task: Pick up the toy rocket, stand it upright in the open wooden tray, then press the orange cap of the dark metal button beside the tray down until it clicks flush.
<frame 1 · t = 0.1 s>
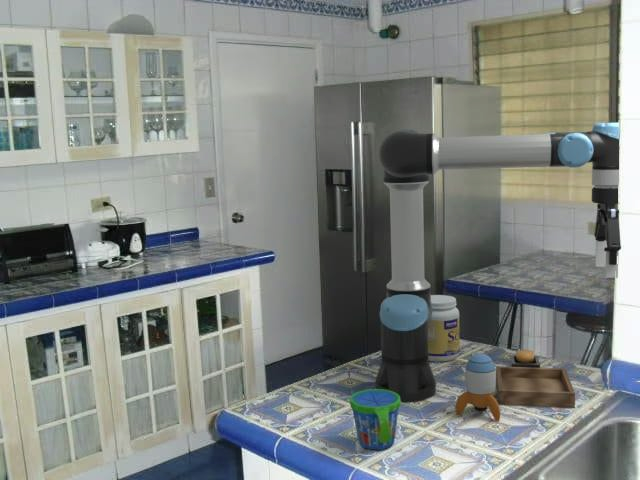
hand: (606, 271, 174), 28 cm above the kitchen counter, fingers open, 13 cm apart
button housing: (524, 374, 184), on the kitchen counter
snack cup: (376, 444, 148), on the kitchen counter
open wooden tray: (533, 392, 172), on the kitchen counter
toy rocket: (475, 414, 161), on the kitchen counter
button: (525, 356, 184), point 5 cm above the kitchen counter, slide at 0.0 cm
supplement tub: (438, 356, 202), on the kitchen counter
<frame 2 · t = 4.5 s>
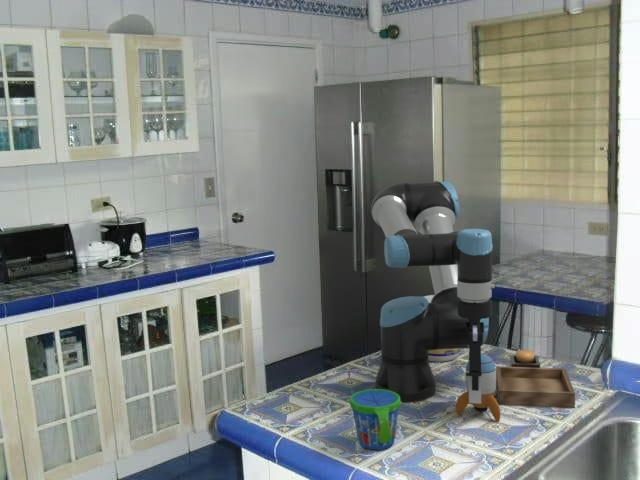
hand: (474, 395, 160), 4 cm above the kitchen counter, fingers closed on toy rocket, 7 cm apart
toy rocket: (475, 414, 161), on the kitchen counter, touching gripper
everything else where it was.
when the fingers open (6 cm above the kitchen counter, at t = 11.6 s): toy rocket stays where it is, resting on open wooden tray.
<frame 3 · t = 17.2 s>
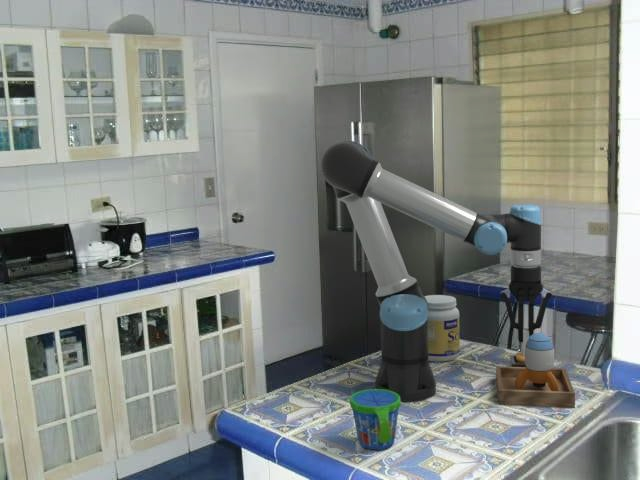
hand: (525, 353, 184), 6 cm above the kitchen counter, fingers closed
toy rocket: (533, 389, 171), point 1 cm above the kitchen counter, touching open wooden tray
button: (525, 358, 184), point 4 cm above the kitchen counter, slide at 0.6 cm, touching gripper
everything else where it was.
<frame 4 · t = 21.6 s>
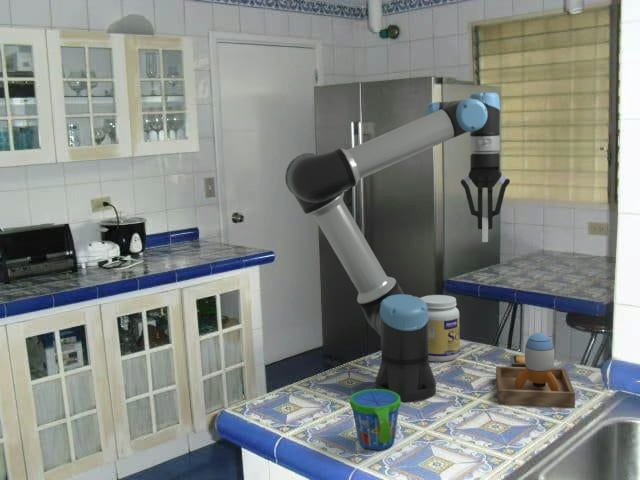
hand: (485, 241, 188), 34 cm above the kitchen counter, fingers closed
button: (524, 361, 184), point 4 cm above the kitchen counter, slide at 1.5 cm
everything else where it was.
at the end: toy rocket inside the target area on the open wooden tray (0.2 cm from its centre), point 0.8 cm above the open wooden tray's base; toy rocket tilted 1°; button slide at 1.5 cm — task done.
